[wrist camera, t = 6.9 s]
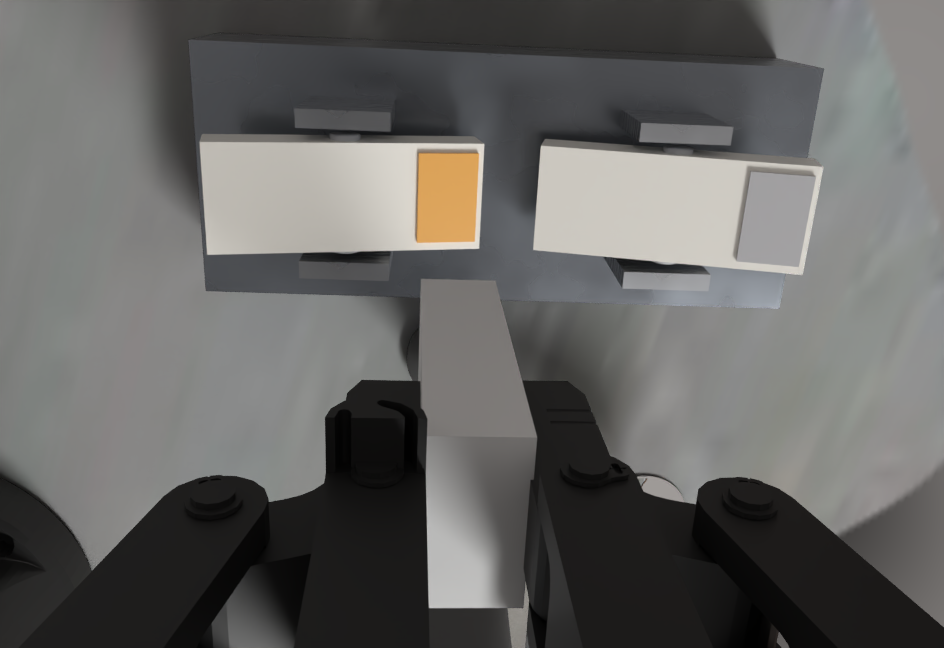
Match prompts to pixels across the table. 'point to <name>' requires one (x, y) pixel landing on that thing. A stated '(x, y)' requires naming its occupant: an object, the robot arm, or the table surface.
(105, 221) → the table surface
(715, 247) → the paddle
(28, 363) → the table surface
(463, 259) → the panel
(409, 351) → the post
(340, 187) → the paddle
